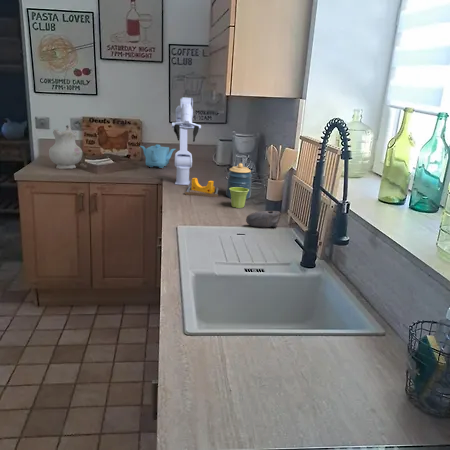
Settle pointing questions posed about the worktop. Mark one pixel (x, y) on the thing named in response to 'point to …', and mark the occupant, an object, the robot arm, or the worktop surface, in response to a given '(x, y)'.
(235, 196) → the plant pot
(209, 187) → the pipe clamp
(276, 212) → the perforated stone tool
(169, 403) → the worktop surface
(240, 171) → the canister
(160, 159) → the teakettle
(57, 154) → the ceramic pitcher
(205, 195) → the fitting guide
